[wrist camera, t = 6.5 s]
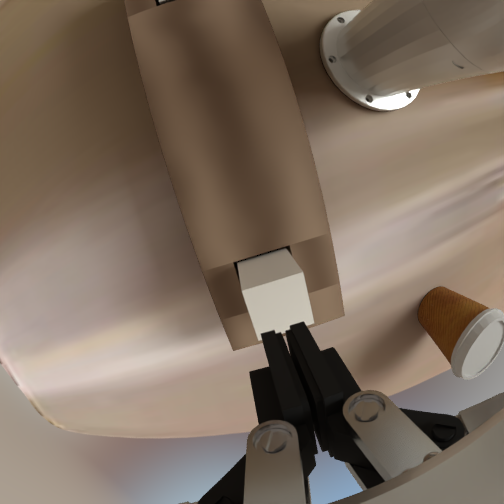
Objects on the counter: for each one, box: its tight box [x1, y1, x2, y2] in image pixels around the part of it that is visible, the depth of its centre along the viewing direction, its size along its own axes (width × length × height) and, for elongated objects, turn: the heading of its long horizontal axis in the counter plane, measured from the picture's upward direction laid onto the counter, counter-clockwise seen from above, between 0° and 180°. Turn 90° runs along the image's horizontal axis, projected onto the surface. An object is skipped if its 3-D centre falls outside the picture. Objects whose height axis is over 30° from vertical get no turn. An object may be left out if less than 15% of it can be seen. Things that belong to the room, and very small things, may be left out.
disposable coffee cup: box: [418, 287, 504, 380], centre depth 29 cm, size 10×10×12 cm
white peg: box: [237, 248, 314, 341], centre depth 22 cm, size 4×4×6 cm
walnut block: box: [124, 0, 345, 351], centre depth 23 cm, size 11×40×6 cm, turn 16°
